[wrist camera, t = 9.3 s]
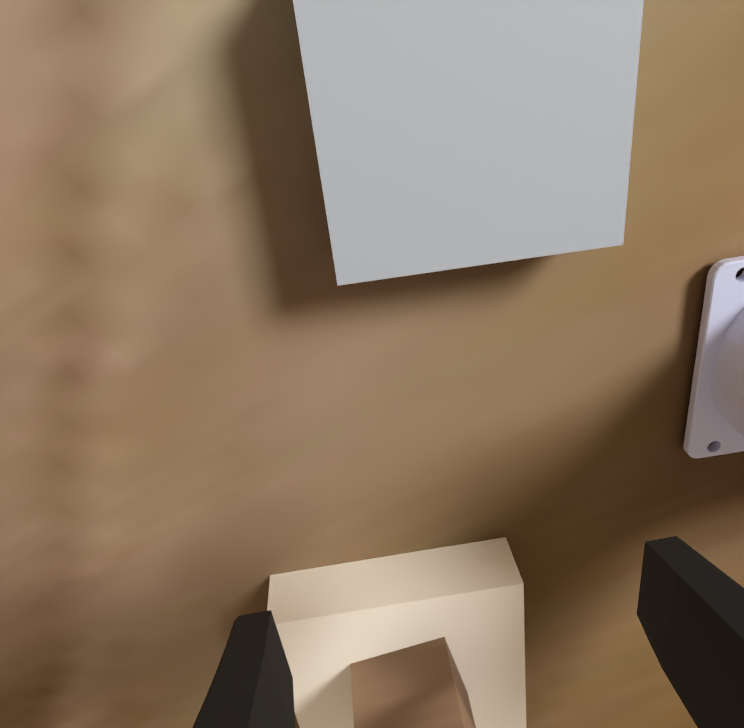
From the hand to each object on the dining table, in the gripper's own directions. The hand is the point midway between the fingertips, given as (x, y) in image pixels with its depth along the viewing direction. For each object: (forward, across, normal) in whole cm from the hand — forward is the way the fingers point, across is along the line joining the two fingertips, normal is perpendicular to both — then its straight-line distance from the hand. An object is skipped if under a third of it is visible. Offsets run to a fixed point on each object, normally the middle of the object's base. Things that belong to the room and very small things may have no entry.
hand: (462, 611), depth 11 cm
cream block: (+11, +1, +14) cm, 18 cm away
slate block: (+11, -3, -8) cm, 14 cm away
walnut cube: (+8, +1, +14) cm, 16 cm away
